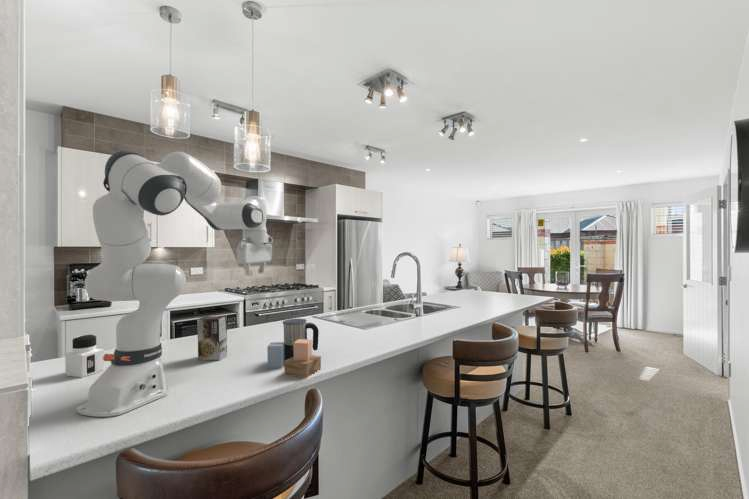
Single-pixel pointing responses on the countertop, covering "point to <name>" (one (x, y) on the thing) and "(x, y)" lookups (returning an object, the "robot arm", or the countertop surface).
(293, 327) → the milk frother
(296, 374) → the walnut block
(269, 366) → the slate block
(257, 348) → the countertop surface
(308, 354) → the terracotta block
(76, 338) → the container
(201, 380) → the countertop surface
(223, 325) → the coffee box
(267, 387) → the countertop surface
